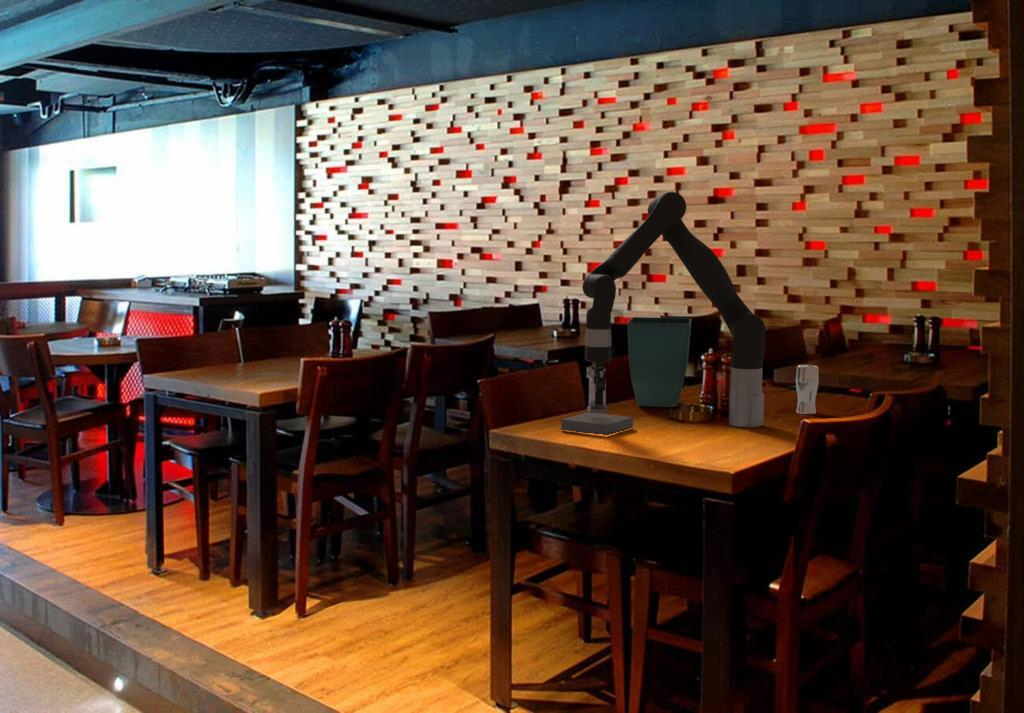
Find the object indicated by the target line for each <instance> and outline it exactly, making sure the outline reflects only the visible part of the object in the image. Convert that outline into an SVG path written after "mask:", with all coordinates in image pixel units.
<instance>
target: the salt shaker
mask: <svg viewBox="0 0 1024 713" xmlns="http://www.w3.org/2000/svg"><path fill="white" fill-rule="evenodd" d="M590 377H591V378H590ZM590 377H589V379H588V406H587V407H586V409H587V412H589V413H600V414H608V409H607V407H606V406H607V405H606V403H607V402H606V401H607V399H606V398H607V394H606V393H607V379H606V380H605V391H604V392H603V405H596V404H595V385H594V384H593V375H592V373H591V376H590ZM595 380H596V379H595ZM598 386H602V385H601V384H598Z"/></svg>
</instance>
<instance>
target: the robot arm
mask: <svg viewBox="0 0 1024 713" xmlns="http://www.w3.org/2000/svg"><path fill="white" fill-rule="evenodd" d="M686 211H687V202H686V200H685V198H684V196H683V195H681V194H680V193H678V192H676V191H667V192H664V193H662V194H660V195H658V196H657V197H655V198H654V199H653V200H651V201H650V202H649V204H648V207H647V216H648V217H646V218H645V220H644V221H643V222H642V223H641V224H640V225H639V226H638V227H637V228H636V229H635V230H634V231H633V232H631V233H630V234H629V235H628V236H627V237H626V238H625V239H624V240H622V243H620V244H619V245H618V246H617V247H616V249H615V250H613V252H612V253H611V254H610V255H609V256H608V258H606V260H605V261H603V262H602V263H600V264H599V265H597V266H596V267H595V268H594V269H593V270H592V271H590V272H589V273H588V274H587V275H586V276H585V278H584V280H583V282H582V287H581V288H582V291H583V294H584V295H585V296H586V297H588V298H590V299H593V300H592V301H593V302H592V306H591V307H590V308H589V309H587V311H586V315H585V316H586V319H585V320H586V321H585V336H584V360H585V361H587V362H592V364H591V365H589V369H590V370H589V372H590V377H589V378H591V373H592V375H593V384H594V385H595V404H596V405H603V392H604V391H605V380H606V381H607V378H606V375H607V370H606V367H604V363H608V362H611V360H612V341H613V340H612V311H613V309H614V304H615V300H616V296H617V295H616V294H617V285H616V282H615V281H616V280H617V279H618V280H619V279H621V278H624V277H625V276H626V275H627V274H628V273H629V272H630V271H631V270H632V269H633V267H635V265H636V264H637V263H638V261H640V259H641V258H642V257H643V256H644V255H645V253H647V251H648V250H649V249H650V247H651V246H652V245H653V244H654V243H655V242H656V241H657V240H658V239H659V238H660V237H661V236H662V237H663V238H664V239H665V240H666V241H667V242H668V244H669V245H670V246H671V247H672V249H673V252H675V254H676V256H677V258H679V260H680V261H681V262H682V264H683V265H684V267H685V268H686V270H687V271H688V273H689V275H690V276H691V278H692V279H693V280H694V281H695V284H696V285H697V287H699V289H700V290H701V291H702V293H704V295H705V296H706V298H707V299H708V300H709V301H710V302H711V303H712V304H713V305H714V307H715V308H716V309H717V311H718V313H719V314H720V315H721V318H722V319H723V321H724V323H725V325H726V326H727V329H728V330H729V332H730V334H731V337H732V339H733V340H732V354H731V357H730V374H729V404H728V406H729V408H728V412H729V414H728V425H730V426H731V427H732V426H733V427H738V428H758V427H761V426H764V415H765V414H764V413H765V412H764V411H765V393H764V392H763V366H764V364H763V363H764V359H765V351H766V325H765V322H764V320H763V319H762V318H761V317H760V316H759V315H757V314H755V313H753V312H752V310H750V308H748V306H747V305H746V304H745V302H744V300H742V299H741V298H740V297H741V296H739V294H738V292H737V290H736V289H735V286H734V284H733V281H732V279H731V277H730V275H729V273H728V271H727V269H726V268H725V267H724V264H723V263H722V262H721V260H720V259H719V257H718V256H717V255H716V253H715V252H714V251H713V250H712V249H711V248H710V247H709V246H708V245H707V244H705V243H704V242H702V241H701V239H699V238H697V237H696V236H695V235H694V234H693V233H692V232H691V231H690V230H689V228H688V227H687V226H686V224H685V222H684V221H683V217H684V216H685V215H686V213H687V212H686ZM595 379H596V380H595ZM598 384H601V385H602V386H598Z"/></svg>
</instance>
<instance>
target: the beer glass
mask: <svg viewBox="0 0 1024 713" xmlns="http://www.w3.org/2000/svg"><path fill="white" fill-rule="evenodd" d="M819 374H820V373H819V365H816V364H815V365H814V364H798V365H796V373H795V388H796V395H797V405H796V410H795V412H796V413H797V414H800V415H815V414H817V409H816V397H817V393H818V389H819V383H820V382H819V381H820V380H819V379H820V377H819V376H820V375H819Z"/></svg>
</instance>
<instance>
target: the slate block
mask: <svg viewBox="0 0 1024 713" xmlns="http://www.w3.org/2000/svg"><path fill="white" fill-rule="evenodd" d="M560 422H561V425H560V431H561V430H569V431H576V432H583V433H594V434H603V435H609V434H613V433H616V432H620V431H624V430H627V429H630V428H633V429H634V417H633V416H625V415H618V414H617V415H616V414H608V413H589V411H587V412H585V413H579V414H576V415H572V416H568V417H565V418H561V419H560Z"/></svg>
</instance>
